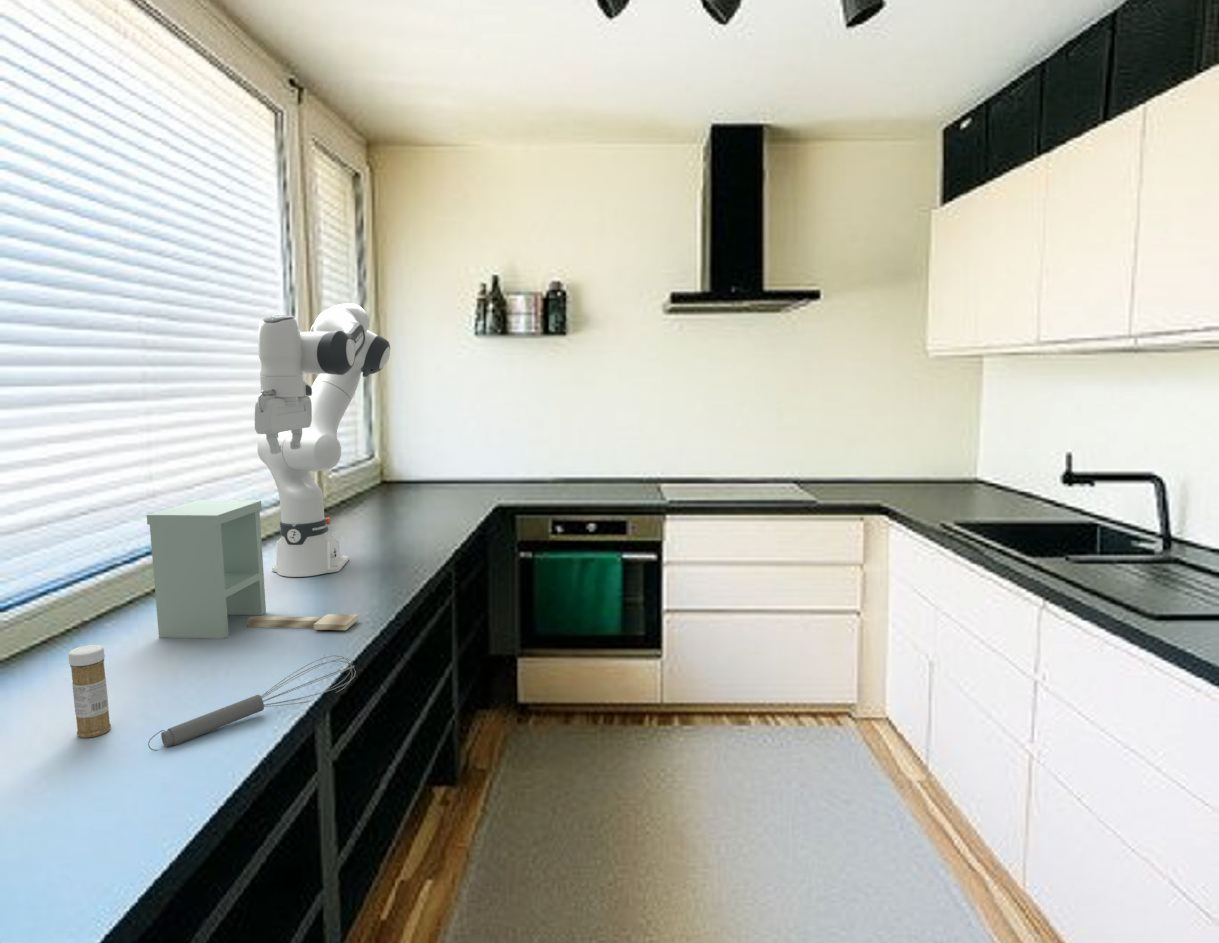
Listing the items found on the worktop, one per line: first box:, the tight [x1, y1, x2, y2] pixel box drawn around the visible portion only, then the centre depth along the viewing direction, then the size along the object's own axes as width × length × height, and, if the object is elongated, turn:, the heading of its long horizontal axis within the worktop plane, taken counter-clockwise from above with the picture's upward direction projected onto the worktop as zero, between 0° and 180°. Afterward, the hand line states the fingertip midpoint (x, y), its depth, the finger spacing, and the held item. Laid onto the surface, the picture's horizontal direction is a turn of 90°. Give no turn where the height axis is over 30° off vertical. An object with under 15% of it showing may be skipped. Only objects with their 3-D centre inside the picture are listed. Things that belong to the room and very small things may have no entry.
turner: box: [246, 613, 359, 631], centre depth 176 cm, size 23×7×2 cm, turn 86°
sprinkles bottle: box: [68, 644, 112, 739], centre depth 125 cm, size 5×5×13 cm
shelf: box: [146, 499, 267, 640], centre depth 176 cm, size 18×15×26 cm
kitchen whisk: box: [147, 654, 357, 751], centre depth 131 cm, size 6×34×6 cm, turn 139°
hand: (286, 451), depth 182 cm, fingers open, 8 cm apart
